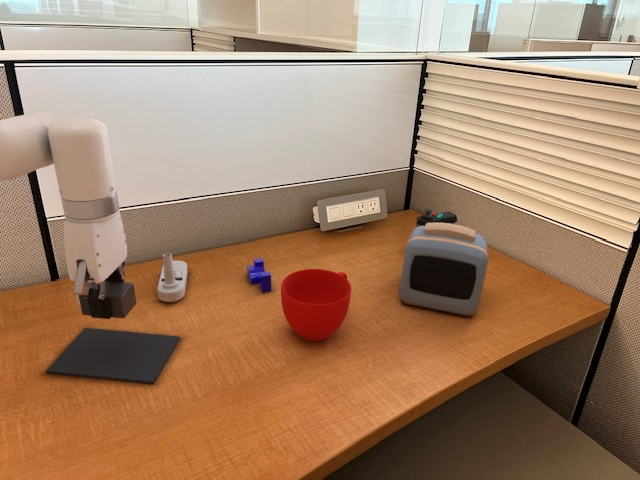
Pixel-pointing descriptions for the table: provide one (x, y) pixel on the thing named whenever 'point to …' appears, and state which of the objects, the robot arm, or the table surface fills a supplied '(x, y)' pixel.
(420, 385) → the table surface
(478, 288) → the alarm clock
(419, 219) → the controller
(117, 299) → the block
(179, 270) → the electronic device
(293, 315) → the ceramic cup
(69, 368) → the desk mat
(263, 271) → the cable holder
